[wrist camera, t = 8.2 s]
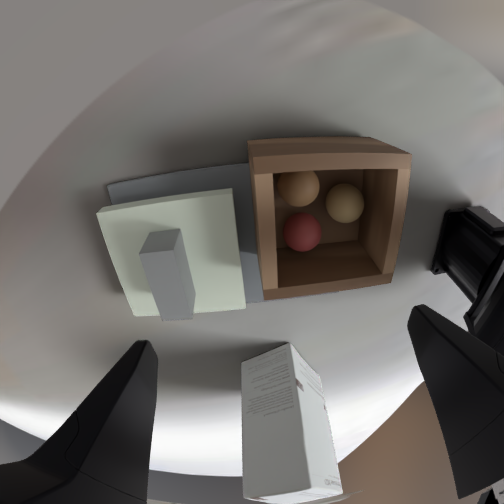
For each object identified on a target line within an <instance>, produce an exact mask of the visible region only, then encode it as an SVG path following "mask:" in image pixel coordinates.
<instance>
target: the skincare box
mask: <svg viewBox="0 0 504 504" xmlns="http://www.w3.org/2000/svg"><path fill="white" fill-rule="evenodd" d="M241 387H242V462H243V497H244V498H246V499H250V500H256V501H262V502H266V503H278V504H295V503H301V502H307V501H312V500H316V499H321V498H326V497H331V496H335V495H339V494H342V493H343V491H342V487H341V481H340V476H339V470H338V465H337V459H336V454H335V448H334V443H333V438H332V432H331V427H330V422H329V418H328V413H327V409H326V404H325V399H324V394H323V389H322V385H321V380H320V377H319V375H318V374H317V373H316V372H314V371H313V369H312V368H311V367H310V366H309V365H308V364H307V363H306V362H305V361H304V360H303V359H302V357H301V356H300V355H299V354H298V352H297V351H296V350H295V348H294V347H293V345H292V344H290V343H287V344H285V345H282V346H280V347H278V348H275V349H273V350H271V351H268V352H266V353H264V354H261V355H259V356H256V357H254V358H251V359H249V360H246V361H244V362H242V363H241Z"/></svg>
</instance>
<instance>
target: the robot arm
mask: <svg viewBox="0 0 504 504" xmlns="http://www.w3.org/2000/svg"><path fill="white" fill-rule="evenodd" d="M449 216H450V217H449ZM431 272H432V273H433V274H434V275H436V274H441V273H447V275H448V276H449V277H450V278H451V279H452V280H453V281H454V282H455V284H456V285H457V286H458V287H459V288H460V289H461V291H462V292H463V293H464V294H465V295H466V296H467V298H468V299H469V300H470V301H471V303H472V306H471V307H470V309H469V310H468V312H466V313H465V315H464V316H463V318H464V320H465V322H466V325H467V327H468V330H469V332H470V333H468V332H467V331H465V330H464V329H462V328H461V327H459V326H458V325H456V324H454V323H453V322H451V321H450V320H448V319H447V318H445V317H444V316H442V315H440V314H439V313H437V312H436V311H434V310H432V309H431V308H429V307H428V306H426V305H424V304H421V305H417V306H414V307H413V309H412V311H411V314H410V317H409V320H408V324H407V327H408V331H409V334H410V338H411V341H412V344H413V348H414V351H415V355H416V358H417V361H418V364H419V367H420V370H421V372H422V375H423V378H424V380H425V383H426V386H427V388H428V391H429V394H430V396H431V399H432V402H433V405H434V408H435V411H436V414H437V417H438V420H439V424H440V426H441V430H442V433H443V437H444V440H445V444H446V447H447V451H448V455H449V459H450V463H451V467H452V471H453V475H454V480H455V484H456V490H457V495H458V499H461V498H464V497H466V496H468V495H471V494H473V493H475V492H477V491H480V490H482V489H484V488H486V487H488V486H490V485H492V487H491V488H490V489H488V490H487V491H486V492H484V493H483V494H481V497H480V499H479V502H478V504H504V223H503V222H502V221H501V220H499V219H498V218H497V217H495V216H494V215H492V214H491V213H490V211H489V210H487V209H486V208H482V207H466V208H464V209H458V210H448V211H446V213H445V215H444V220H443V225H442V229H441V234H440V238H439V242H438V246H437V249H436V253H435V257H434V260H433V264H432V267H431ZM157 371H158V358H157V355H156V353H155V351H154V349H153V347H152V345H151V343H150V342H149V341H148V340H137V341H136V342H135V343H134V344H133V345H132V346H131V347H130V348H129V350H128V351H127V352H126V353H125V354H124V355H123V356H122V357H121V358H120V360H119V361H118V362H117V363H116V364H115V365H114V366H113V367H112V369H111V370H110V371H109V372H108V373H107V374H106V375H105V377H104V378H103V379H102V380H101V381H100V382H99V383H98V384H97V386H96V387H95V388H94V389H93V390H92V391H91V393H90V394H89V395H88V396H87V397H86V398H85V399H84V401H83V402H82V403H81V404H80V405H79V406H78V408H77V409H76V410H75V411H74V412H73V413H72V414H71V416H70V417H69V418H68V419H67V420H66V421H65V422H64V424H63V425H62V426H61V427H60V428H59V429H58V430H57V431H56V432H55V433H54V434H53V435H52V436H51V437H50V438H49V439H48V440H47V441H46V442H45V443H44V444H43V445H42V446H41V447H39V449H38V450H37V451H35V452H34V454H32V455H31V456H29V457H28V458H26V459H24V460H21V461H18V462H12V463H7V464H1V465H0V504H147V502H146V501H147V486H148V473H149V461H150V451H151V441H152V432H153V424H154V416H155V408H156V400H157Z"/></svg>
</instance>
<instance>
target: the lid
mask: <svg viewBox="0 0 504 504" xmlns="http://www.w3.org/2000/svg"><path fill="white" fill-rule="evenodd" d="M96 215H97V218H98V221H99V224H100V227H101V231H102V234H103V237H104V240H105V243H106V245H107V248H108V251H109V254H110V257H111V260H112V262H113V265H114V268H115V270H116V273H117V275H118V278H119V281H120V283H121V286H122V288H123V290H124V293H125V295H126V298H127V300H128V302H129V305H130V307H131V309H132V311H133V314H134V316H155V315H160V316H161V319H162V321H169V320H186V319H193V313H202V312H215V311H226V310H237V309H246V301H245V293H244V285H243V276H242V268H241V260H240V251H239V243H238V234H237V226H236V217H235V208H234V199H233V190H232V188H228V189H219V190H211V191H203V192H195V193H187V194H180V195H173V196H166V197H159V198H153V199H147V200H140V201H134V202H129V203H123V204H117V205H112V206H107V207H102V208H101V209H100V210H99V211H98V212H97V213H96Z"/></svg>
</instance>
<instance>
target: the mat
mask: <svg viewBox="0 0 504 504" xmlns="http://www.w3.org/2000/svg"><path fill="white" fill-rule="evenodd" d="M107 188H108V192H109V196H110V199H111V203H112V205H117V204H123V203H129V202H134V201H140V200H147V199H153V198H159V197H166V196H173V195H180V194H187V193H195V192H203V191H211V190H219V189H228V188H232V190H233V199H234V208H235V217H236V226H237V234H238V243H239V251H240V260H241V268H242V276H243V285H244V293H245V301H246V303H256V302H265V301H264V297H263V290H262V284H261V277H260V271H259V264H258V258H257V249H256V237H255V226H254V214H253V202H252V191H251V180H250V168H249V163H241V164H231V165H222V166H214V167H206V168H198V169H191V170H184V171H178V172H171V173H165V174H159V175H154V176H148V177H143V178H137V179H132V180H127V181H122V182H117V183H113V184H109V185H108V186H107ZM337 292H339V291H337ZM330 293H335V292H330ZM322 294H328V293H322ZM315 295H321V294H315ZM308 296H314V295H308ZM300 297H306V296H300ZM292 298H298V297H292ZM284 299H290V298H284ZM275 300H282V299H275ZM266 301H274V300H266Z"/></svg>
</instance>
